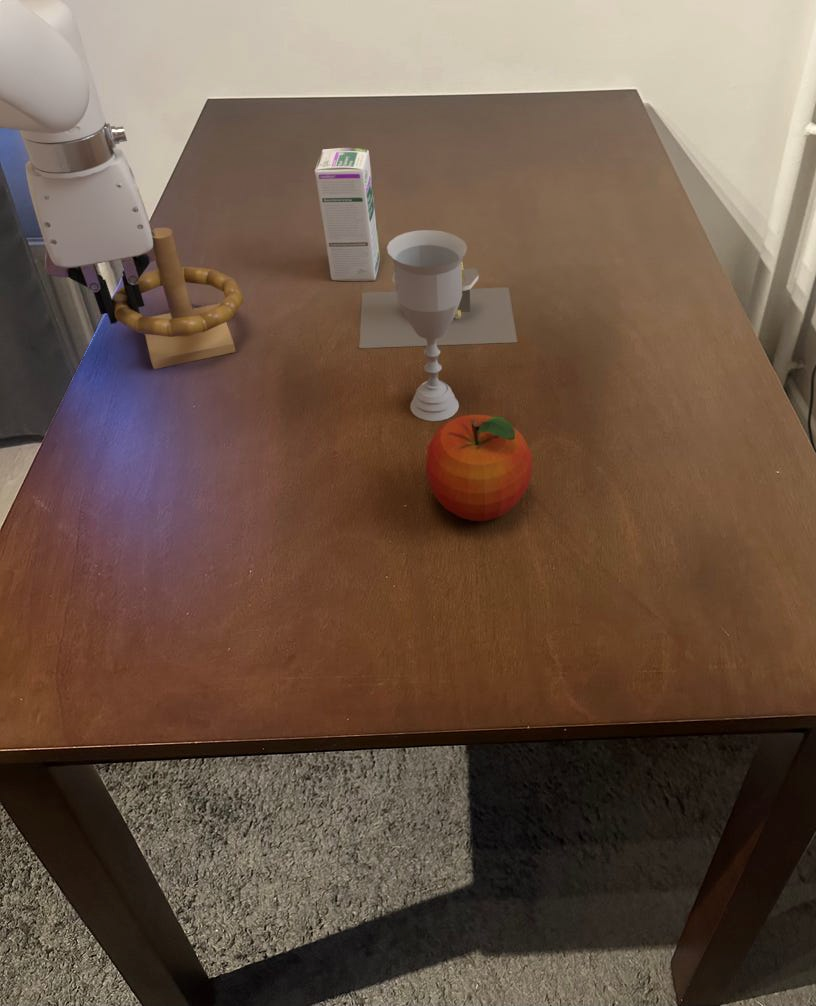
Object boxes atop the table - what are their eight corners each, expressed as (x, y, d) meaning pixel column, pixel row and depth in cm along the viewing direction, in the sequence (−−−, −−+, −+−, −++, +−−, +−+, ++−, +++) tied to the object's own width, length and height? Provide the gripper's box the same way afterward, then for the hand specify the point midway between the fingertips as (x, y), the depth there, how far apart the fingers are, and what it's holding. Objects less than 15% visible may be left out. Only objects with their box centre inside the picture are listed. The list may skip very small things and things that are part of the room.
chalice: (478, 394, 94) (477, 237, 82) (456, 432, 90) (451, 273, 77) (414, 380, 96) (404, 225, 84) (389, 418, 92) (374, 259, 79)
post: (153, 369, 98) (119, 260, 88) (144, 327, 104) (111, 221, 94) (235, 352, 100) (210, 244, 91) (221, 311, 106) (197, 206, 97)
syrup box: (376, 281, 111) (365, 167, 101) (329, 281, 111) (313, 167, 101) (380, 259, 115) (370, 147, 105) (335, 258, 115) (320, 147, 105)
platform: (517, 342, 101) (519, 291, 97) (359, 348, 101) (353, 297, 96) (508, 287, 110) (509, 238, 105) (362, 292, 109) (357, 243, 105)
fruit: (461, 454, 87) (459, 371, 80) (547, 488, 84) (553, 404, 77) (407, 514, 82) (400, 429, 75) (497, 552, 78) (499, 468, 71)
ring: (121, 347, 92) (117, 332, 91) (110, 287, 101) (106, 273, 100) (253, 327, 96) (251, 312, 95) (230, 272, 106) (228, 257, 104)
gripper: (151, 120, 89) (193, 284, 102) (-20, 145, 85) (46, 312, 98) (160, 149, 84) (203, 317, 97) (-20, 176, 80) (50, 348, 93)
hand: (124, 313), depth 97 cm, fingers closed on ring, 1 cm apart
